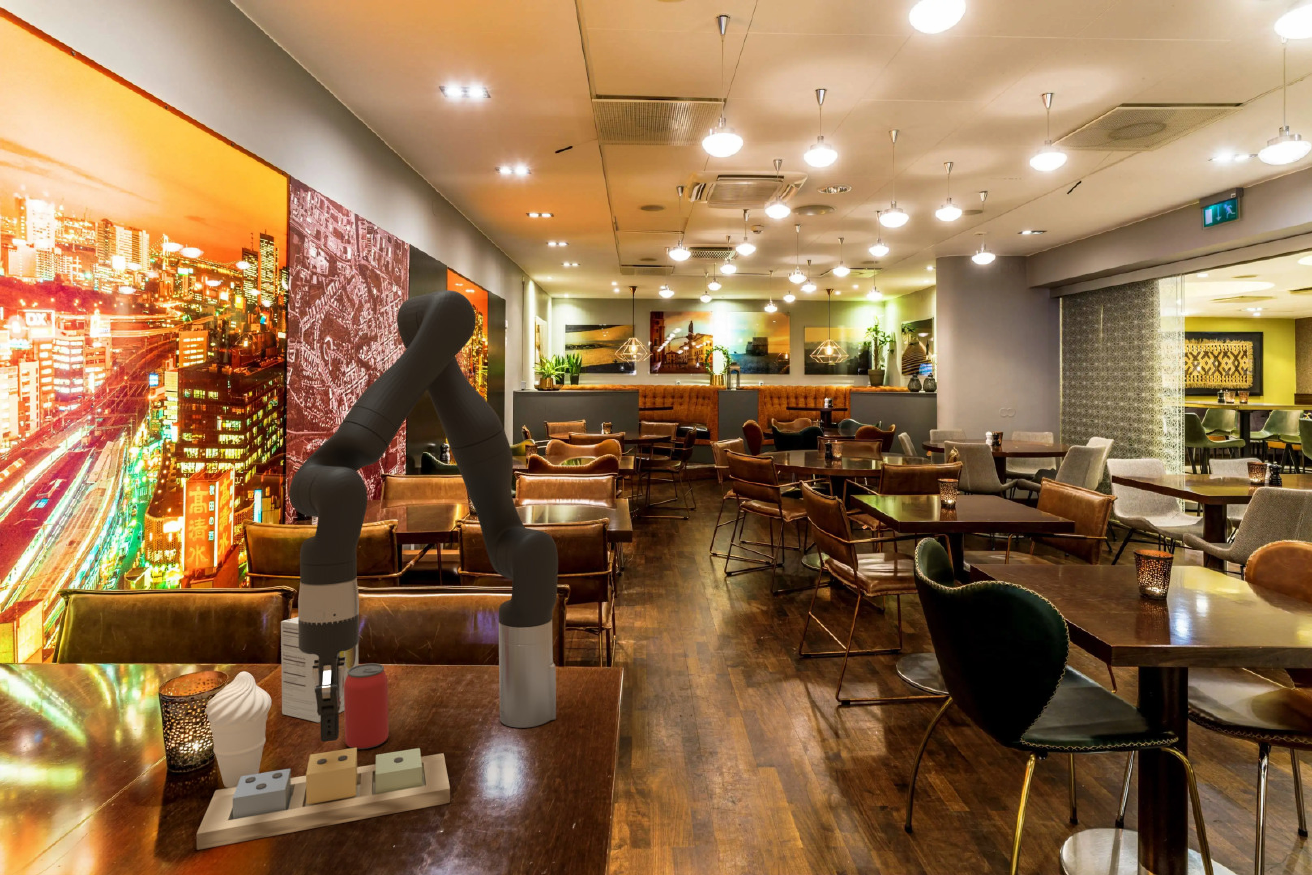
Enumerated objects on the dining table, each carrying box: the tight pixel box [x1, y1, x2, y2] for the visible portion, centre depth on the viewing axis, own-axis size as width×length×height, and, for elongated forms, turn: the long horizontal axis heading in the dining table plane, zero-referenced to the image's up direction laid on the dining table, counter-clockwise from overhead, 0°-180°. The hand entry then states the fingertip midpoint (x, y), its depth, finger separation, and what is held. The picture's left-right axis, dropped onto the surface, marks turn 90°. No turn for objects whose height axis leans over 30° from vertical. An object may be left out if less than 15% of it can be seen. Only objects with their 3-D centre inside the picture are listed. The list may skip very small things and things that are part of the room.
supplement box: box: [280, 616, 359, 723], centre depth 131 cm, size 10×9×17 cm
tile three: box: [233, 768, 292, 819], centre depth 96 cm, size 6×6×4 cm
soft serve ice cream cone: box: [204, 671, 272, 789], centre depth 105 cm, size 8×8×16 cm
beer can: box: [343, 662, 390, 750], centre depth 118 cm, size 7×7×12 cm
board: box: [196, 752, 451, 850], centre depth 100 cm, size 30×11×2 cm, turn 111°
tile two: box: [305, 747, 358, 804], centre depth 99 cm, size 6×6×4 cm
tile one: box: [375, 747, 422, 794], centre depth 102 cm, size 6×6×4 cm
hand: (329, 738), depth 99 cm, fingers closed
